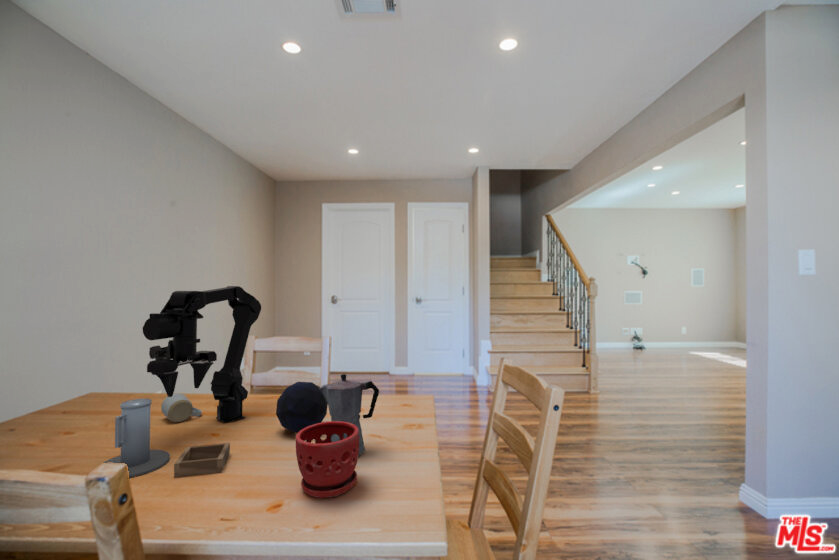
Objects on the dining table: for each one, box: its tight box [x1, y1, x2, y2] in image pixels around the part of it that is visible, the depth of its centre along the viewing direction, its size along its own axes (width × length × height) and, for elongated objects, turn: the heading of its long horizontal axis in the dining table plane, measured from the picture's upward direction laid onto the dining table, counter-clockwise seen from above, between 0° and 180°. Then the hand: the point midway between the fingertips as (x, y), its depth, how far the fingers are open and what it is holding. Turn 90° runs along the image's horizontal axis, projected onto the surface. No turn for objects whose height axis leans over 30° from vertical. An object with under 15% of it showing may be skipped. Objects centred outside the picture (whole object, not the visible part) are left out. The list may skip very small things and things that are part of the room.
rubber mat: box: [103, 449, 171, 479], centre depth 93 cm, size 14×14×1 cm
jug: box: [114, 398, 153, 467], centre depth 92 cm, size 8×6×14 cm
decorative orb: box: [275, 381, 328, 434], centre depth 116 cm, size 14×15×15 cm
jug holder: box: [173, 442, 231, 478], centre depth 93 cm, size 10×10×3 cm
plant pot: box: [295, 420, 359, 499], centre depth 83 cm, size 13×13×12 cm
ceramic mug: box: [160, 392, 203, 423], centre depth 126 cm, size 11×8×8 cm
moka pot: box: [319, 373, 380, 456], centre depth 101 cm, size 10×15×20 cm, turn 95°
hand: (183, 392), depth 109 cm, fingers open, 9 cm apart
